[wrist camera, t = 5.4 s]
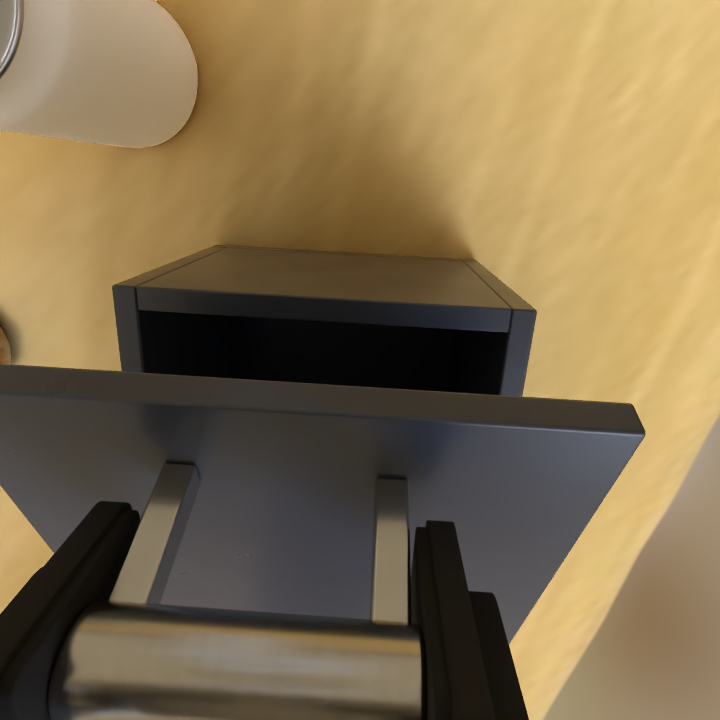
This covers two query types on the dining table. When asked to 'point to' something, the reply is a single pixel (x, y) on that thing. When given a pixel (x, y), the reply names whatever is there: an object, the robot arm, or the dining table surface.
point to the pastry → (4, 349)
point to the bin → (327, 320)
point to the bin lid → (290, 529)
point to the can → (95, 71)
